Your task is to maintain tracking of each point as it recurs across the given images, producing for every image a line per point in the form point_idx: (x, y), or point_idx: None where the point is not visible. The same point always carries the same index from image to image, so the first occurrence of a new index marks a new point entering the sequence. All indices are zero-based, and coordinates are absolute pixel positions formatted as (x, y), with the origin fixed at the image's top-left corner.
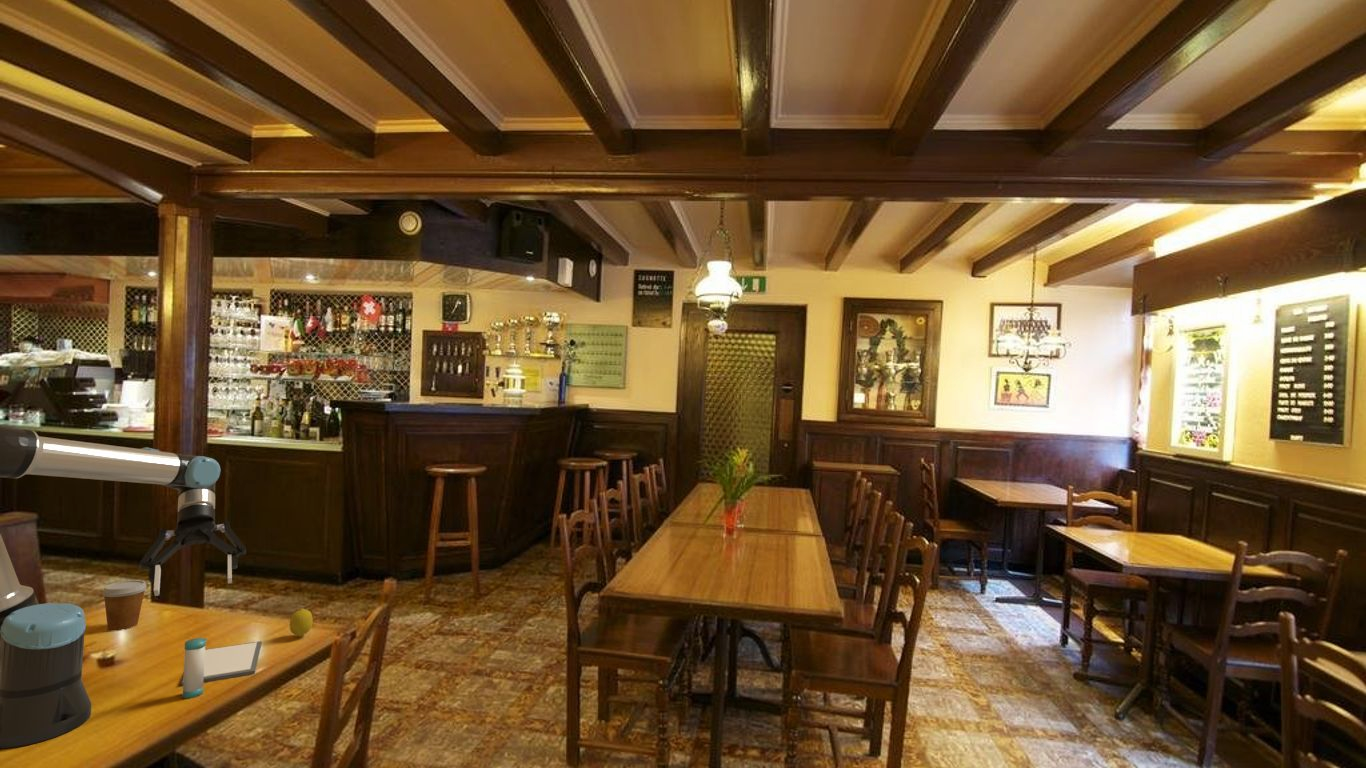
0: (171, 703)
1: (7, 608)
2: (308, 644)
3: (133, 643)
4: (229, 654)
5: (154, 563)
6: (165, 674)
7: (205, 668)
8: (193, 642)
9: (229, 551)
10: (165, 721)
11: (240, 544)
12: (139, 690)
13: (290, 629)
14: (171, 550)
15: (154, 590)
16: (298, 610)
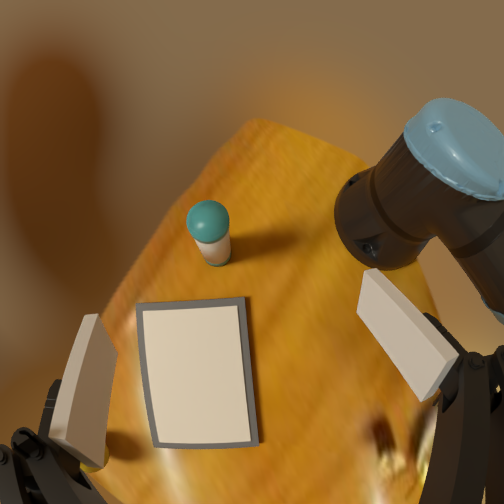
0: (240, 231)
1: None
2: None
3: (364, 495)
4: (192, 402)
5: (469, 365)
6: (285, 363)
7: (218, 347)
8: (210, 212)
9: (55, 462)
10: (232, 175)
11: (5, 486)
12: (305, 304)
13: (106, 448)
14: (453, 470)
15: (374, 268)
16: (82, 464)
